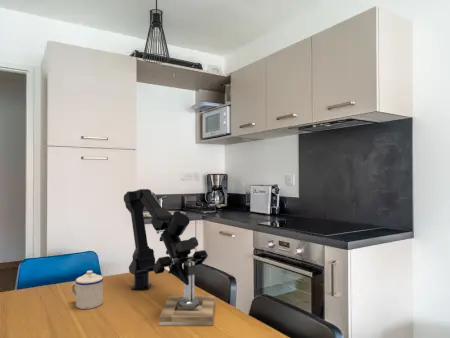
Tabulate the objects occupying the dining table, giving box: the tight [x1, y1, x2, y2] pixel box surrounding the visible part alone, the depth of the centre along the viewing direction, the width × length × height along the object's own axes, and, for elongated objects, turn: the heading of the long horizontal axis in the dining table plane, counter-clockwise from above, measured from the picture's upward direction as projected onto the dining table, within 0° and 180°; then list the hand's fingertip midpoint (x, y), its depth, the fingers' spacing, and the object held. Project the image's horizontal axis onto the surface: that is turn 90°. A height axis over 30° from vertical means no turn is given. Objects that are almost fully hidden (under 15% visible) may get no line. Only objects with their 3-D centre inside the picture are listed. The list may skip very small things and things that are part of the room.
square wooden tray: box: [158, 295, 216, 327], centre depth 112 cm, size 18×16×2 cm
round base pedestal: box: [179, 260, 199, 309], centre depth 112 cm, size 6×6×14 cm
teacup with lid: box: [70, 270, 104, 310], centre depth 120 cm, size 12×9×12 cm
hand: (191, 283), depth 111 cm, fingers closed on round base pedestal, 2 cm apart
